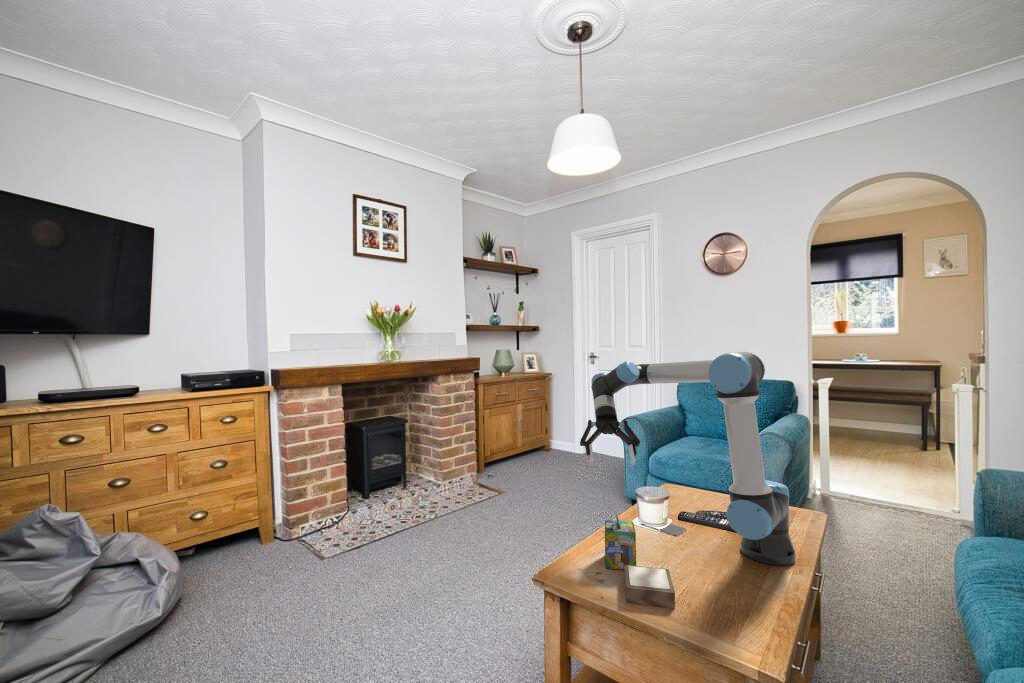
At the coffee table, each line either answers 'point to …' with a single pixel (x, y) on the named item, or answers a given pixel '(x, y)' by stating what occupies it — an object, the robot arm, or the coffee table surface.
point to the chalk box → (619, 544)
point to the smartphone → (674, 529)
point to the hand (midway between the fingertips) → (612, 463)
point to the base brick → (649, 586)
